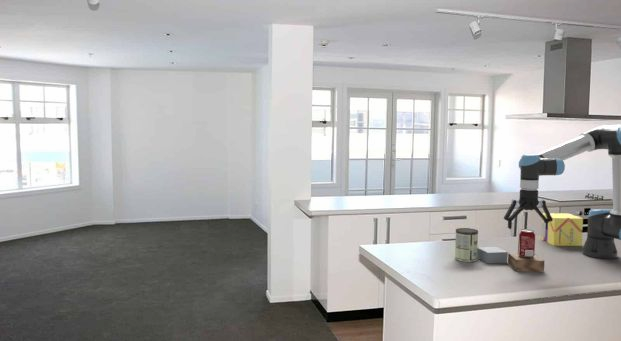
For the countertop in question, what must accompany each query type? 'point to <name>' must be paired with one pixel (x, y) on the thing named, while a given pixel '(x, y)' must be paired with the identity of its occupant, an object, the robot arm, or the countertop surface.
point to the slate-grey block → (492, 254)
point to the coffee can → (466, 244)
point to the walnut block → (526, 263)
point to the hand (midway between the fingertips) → (527, 236)
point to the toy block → (563, 230)
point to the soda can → (526, 243)
